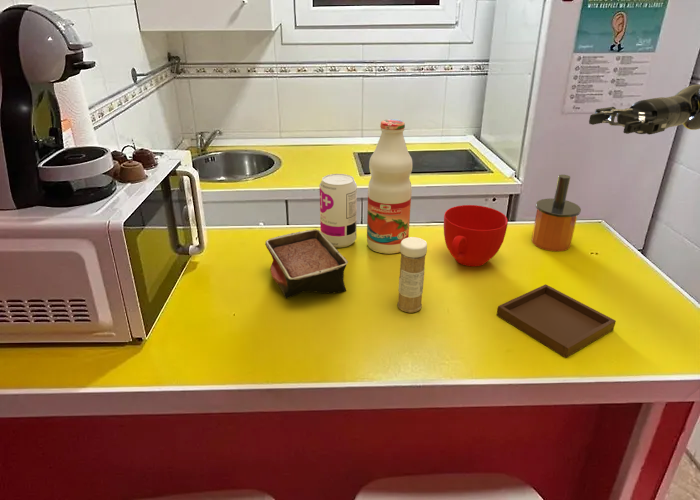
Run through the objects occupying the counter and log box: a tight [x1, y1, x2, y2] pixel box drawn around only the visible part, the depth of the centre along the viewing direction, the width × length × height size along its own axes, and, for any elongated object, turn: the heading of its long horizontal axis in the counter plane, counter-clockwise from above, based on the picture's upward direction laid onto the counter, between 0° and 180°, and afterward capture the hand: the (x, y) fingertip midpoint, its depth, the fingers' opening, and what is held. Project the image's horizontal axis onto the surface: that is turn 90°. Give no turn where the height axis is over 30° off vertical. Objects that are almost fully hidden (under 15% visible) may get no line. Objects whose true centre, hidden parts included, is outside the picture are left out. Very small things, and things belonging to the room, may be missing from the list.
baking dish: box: [264, 228, 349, 299], centre depth 102 cm, size 14×18×10 cm
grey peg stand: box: [535, 174, 582, 217], centre depth 114 cm, size 9×9×8 cm
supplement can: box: [318, 173, 358, 249], centre depth 116 cm, size 8×8×15 cm
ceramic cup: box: [443, 204, 509, 267], centre depth 108 cm, size 13×17×10 cm
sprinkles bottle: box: [397, 236, 428, 314], centre depth 93 cm, size 5×5×13 cm
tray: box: [496, 284, 617, 359], centre depth 91 cm, size 14×13×2 cm
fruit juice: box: [366, 118, 413, 255], centre depth 111 cm, size 9×9×28 cm
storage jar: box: [531, 208, 579, 252], centre depth 117 cm, size 8×8×8 cm
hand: (607, 124), depth 112 cm, fingers open, 8 cm apart
